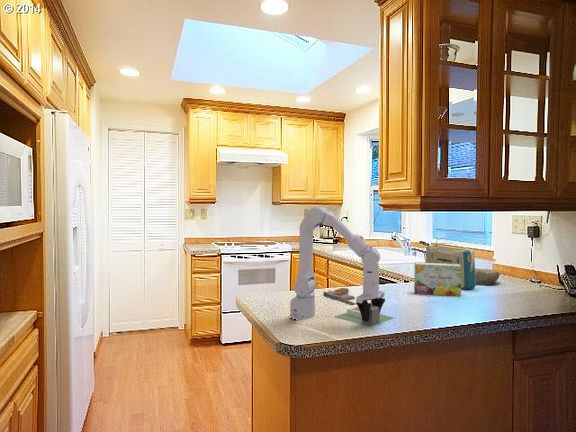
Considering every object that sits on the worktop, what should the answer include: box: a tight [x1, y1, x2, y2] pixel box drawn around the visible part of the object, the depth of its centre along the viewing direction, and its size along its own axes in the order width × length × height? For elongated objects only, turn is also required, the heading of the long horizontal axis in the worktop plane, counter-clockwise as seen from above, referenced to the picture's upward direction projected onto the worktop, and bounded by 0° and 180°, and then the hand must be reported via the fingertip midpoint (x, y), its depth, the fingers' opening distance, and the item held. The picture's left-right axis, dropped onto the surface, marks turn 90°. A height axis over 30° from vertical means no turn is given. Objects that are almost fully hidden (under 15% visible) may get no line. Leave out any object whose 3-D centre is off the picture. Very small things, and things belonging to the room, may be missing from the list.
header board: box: [333, 312, 395, 328], centre depth 156 cm, size 16×17×1 cm
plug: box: [362, 305, 380, 326], centre depth 148 cm, size 4×4×6 cm
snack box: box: [413, 261, 462, 297], centre depth 198 cm, size 21×6×15 cm, turn 76°
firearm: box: [322, 287, 357, 306], centre depth 188 cm, size 29×2×15 cm
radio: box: [424, 237, 477, 291], centre depth 219 cm, size 30×8×25 cm, turn 25°
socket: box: [346, 305, 362, 319], centre depth 159 cm, size 8×8×2 cm
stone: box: [475, 268, 500, 286], centre depth 223 cm, size 14×19×8 cm
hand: (370, 319), depth 148 cm, fingers open, 6 cm apart
